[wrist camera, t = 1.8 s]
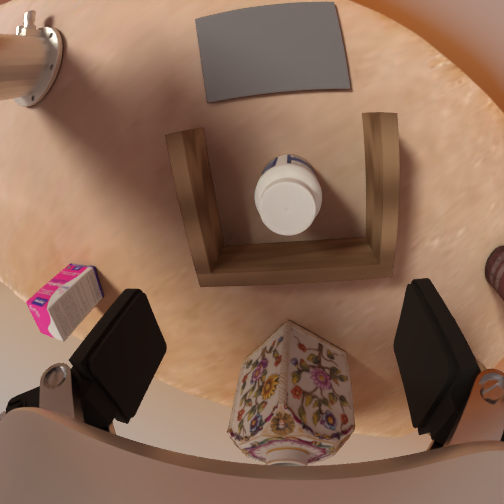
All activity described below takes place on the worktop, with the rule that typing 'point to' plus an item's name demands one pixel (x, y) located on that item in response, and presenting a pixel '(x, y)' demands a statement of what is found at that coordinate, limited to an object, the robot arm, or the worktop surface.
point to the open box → (290, 253)
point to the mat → (272, 50)
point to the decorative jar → (293, 400)
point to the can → (496, 270)
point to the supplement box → (66, 300)
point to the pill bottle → (288, 195)
